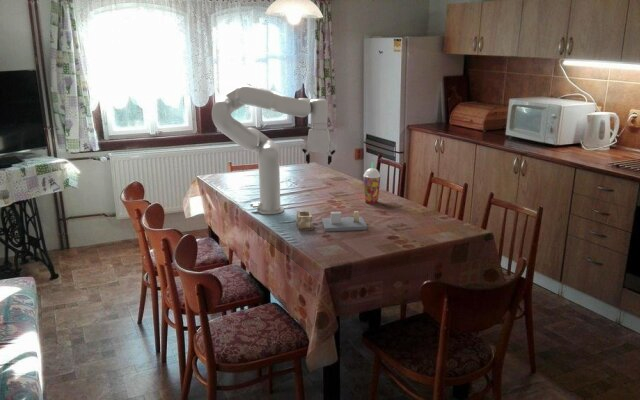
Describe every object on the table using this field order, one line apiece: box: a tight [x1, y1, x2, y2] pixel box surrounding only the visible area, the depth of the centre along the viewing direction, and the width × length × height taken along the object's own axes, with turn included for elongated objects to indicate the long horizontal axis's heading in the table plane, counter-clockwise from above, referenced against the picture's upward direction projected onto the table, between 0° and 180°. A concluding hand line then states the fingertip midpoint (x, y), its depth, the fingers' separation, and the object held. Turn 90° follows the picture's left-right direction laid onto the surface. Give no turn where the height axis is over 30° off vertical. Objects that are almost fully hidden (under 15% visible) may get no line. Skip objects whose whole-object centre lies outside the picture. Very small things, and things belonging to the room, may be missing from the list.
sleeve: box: [296, 210, 314, 231], centre depth 230 cm, size 6×8×6 cm
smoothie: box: [363, 162, 381, 205], centre depth 263 cm, size 8×8×20 cm
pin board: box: [320, 210, 368, 232], centre depth 232 cm, size 18×13×6 cm
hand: (318, 163), depth 248 cm, fingers open, 9 cm apart
